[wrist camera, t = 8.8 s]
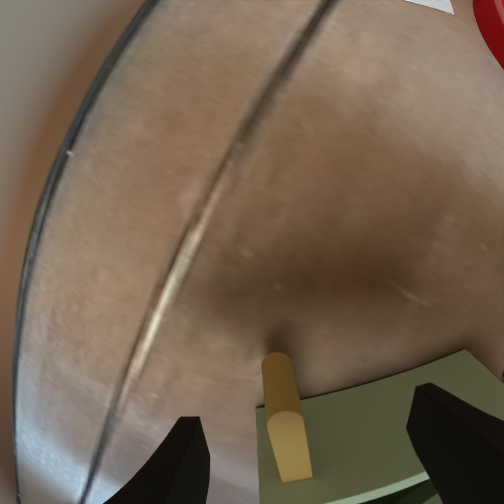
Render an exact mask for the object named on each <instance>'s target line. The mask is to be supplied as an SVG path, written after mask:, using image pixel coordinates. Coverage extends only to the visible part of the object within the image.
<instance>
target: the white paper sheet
mask: <svg viewBox="0 0 504 504" xmlns="http://www.w3.org/2000/svg"><path fill="white" fill-rule="evenodd" d="M405 1H409V2H413V3H417V4H421V5H425V6H428V7H432V8H435V9H438V10H441V11H445V12H448V13H451V14H454V12H453V9H452V6H451V3H450V0H405Z"/></svg>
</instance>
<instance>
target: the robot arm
mask: <svg viewBox="0 0 504 504" xmlns="http://www.w3.org/2000/svg"><path fill="white" fill-rule="evenodd" d="M406 430H407V433H408V435H409V438H410V441H411V443H412V446H413V448H414V451H415V453H416V455H417V456H418V458H419V460H420V462H421V464H422V465H423V467H424V469H425V471H426V473H427V474H428V476H429V478H430V480H431V482H432V483H433V485H434V487H435V489H436V491H437V493H438V495H439V497H440V499H441V501H442V503H443V504H504V421H503V420H501V419H499V418H497V417H494V416H492V415H490V414H488V413H486V412H484V411H482V410H480V409H478V408H476V407H474V406H472V405H471V404H469V403H467V402H465V401H463V400H462V399H460V398H458V397H456V396H455V395H453V394H451V393H449V392H448V391H446V390H444V389H442V388H441V387H439V386H437V385H435V384H433V383H431V382H429V383H425V384H422V385H418V386H415V391H414V396H413V400H412V405H411V409H410V413H409V417H408V421H407V425H406ZM209 479H210V453H209V450H208V446H207V443H206V439H205V436H204V432H203V428H202V425H201V421H200V417H199V416H196V417H180V418H179V419H178V420H177V422H176V423H175V425H174V426H173V428H172V429H171V431H170V432H169V433H168V435H167V436H166V438H165V439H164V440H163V442H162V443H161V444H160V446H159V447H158V448H157V450H156V451H155V452H154V453H153V455H152V456H151V457H150V458H149V460H148V461H147V462H146V463H145V464H144V465H143V467H142V468H141V469H140V470H139V471H138V472H137V473H136V474H135V475H134V476H133V477H132V478H131V480H130V481H129V482H127V483H126V484H125V485H124V486H123V487H122V488H121V489H120V490H119V491H118V492H117V493H116V494H114V495H113V496H112V497H111V498H110V499H108V500H107V501H106V502H104V503H103V504H206V499H207V493H208V487H209Z"/></svg>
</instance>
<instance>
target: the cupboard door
mask: <svg viewBox="0 0 504 504" xmlns="http://www.w3.org/2000/svg"><path fill="white" fill-rule="evenodd" d="M262 378H263V390H264V402H265V407H263V408H257V409H256V430H257V453H258V475H259V497H260V504H359V503H362V502H366V501H369V500H372V499H376V498H379V497H382V496H385V495H388V494H391V493H393V492H396V491H399V490H402V489H404V488H407V487H410V486H412V485H415V484H417V483H420V482H422V481H425V480H427V479H429V476H428V474H427V473H426V471H425V469H424V467H423V465H422V464H421V462H420V460H419V458H418V456H417V455H416V453H415V451H414V448H413V446H412V443H411V441H410V438H409V435H408V433H407V430H406V425H407V421H408V417H409V413H410V409H411V405H412V400H413V396H414V391H415V386H418V385H422V384H425V383H429V382H431V383H433V384H435V385H437V386H439V387H441V388H442V389H444V390H446V391H448V392H449V393H451V394H453V395H455V396H456V397H458V398H460V399H462V400H463V401H465V402H467V403H469V404H471V405H472V406H474V407H476V408H478V409H480V410H482V411H484V412H486V413H488V414H490V415H492V416H494V417H497V418H499V419H501V420H503V421H504V384H503V383H502V382H501V381H500V380H499V379H498V378H497V377H496V376H495V375H494V374H492V373H491V372H490V371H489V370H488V369H487V368H486V367H485V366H484V365H482V364H481V363H480V362H479V361H478V360H477V359H476V358H475V357H474V356H472V355H471V354H470V353H469V352H468V351H467V350H466V349H464V350H461V351H459V352H457V353H454V354H452V355H449V356H447V357H444V358H442V359H439V360H436V361H434V362H431V363H429V364H426V365H423V366H420V367H417V368H415V369H412V370H409V371H406V372H403V373H400V374H397V375H394V376H391V377H388V378H384V379H381V380H378V381H375V382H371V383H368V384H364V385H361V386H357V387H354V388H350V389H346V390H342V391H338V392H334V393H330V394H326V395H322V396H318V397H313V398H309V399H304V400H300V399H299V395H298V391H297V386H296V382H295V378H294V374H293V369H292V365H291V361H290V359H289V357H288V356H287V355H285V354H283V353H279V352H275V353H271V354H269V355H267V356H266V357H265V358H264V359H263V361H262Z"/></svg>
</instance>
